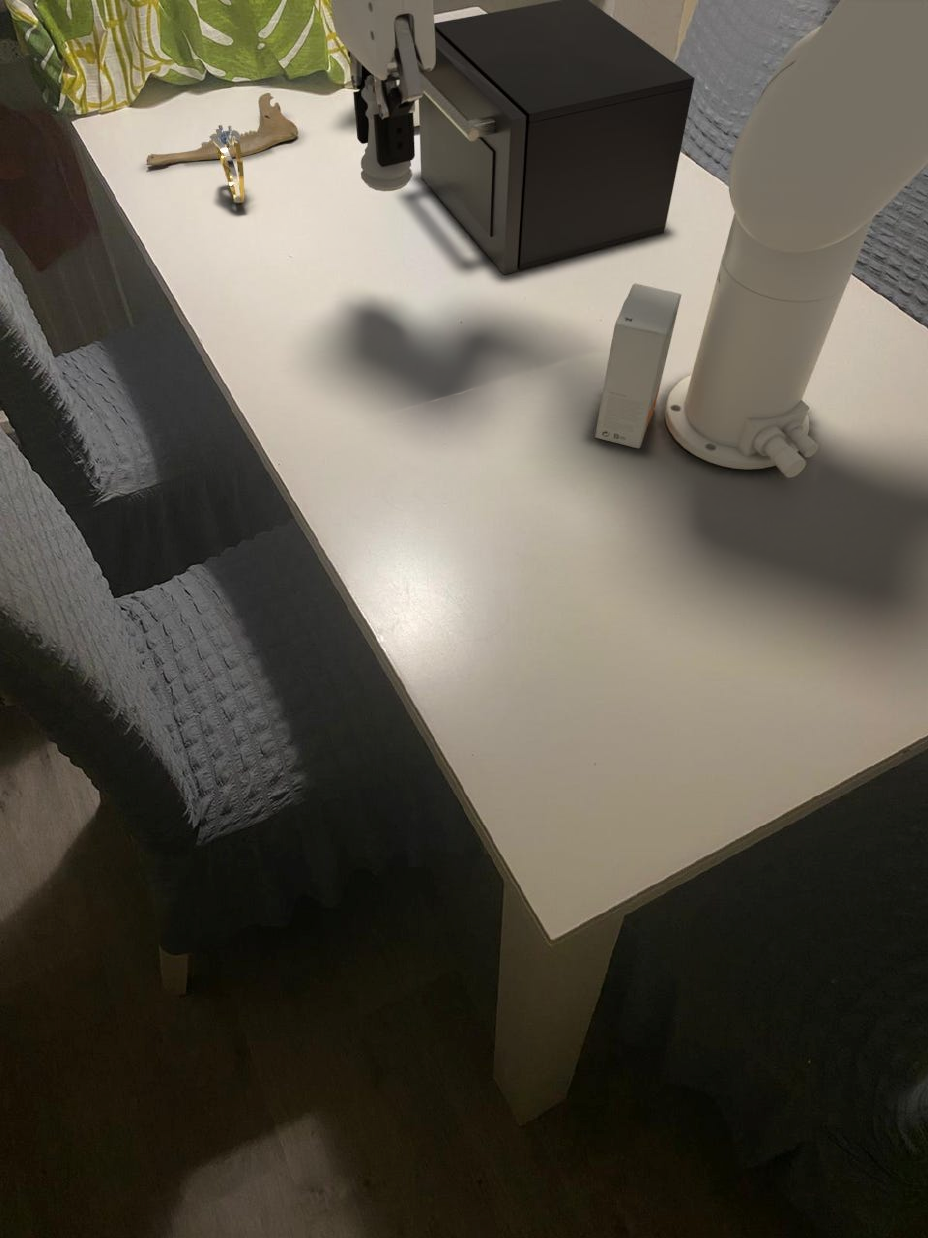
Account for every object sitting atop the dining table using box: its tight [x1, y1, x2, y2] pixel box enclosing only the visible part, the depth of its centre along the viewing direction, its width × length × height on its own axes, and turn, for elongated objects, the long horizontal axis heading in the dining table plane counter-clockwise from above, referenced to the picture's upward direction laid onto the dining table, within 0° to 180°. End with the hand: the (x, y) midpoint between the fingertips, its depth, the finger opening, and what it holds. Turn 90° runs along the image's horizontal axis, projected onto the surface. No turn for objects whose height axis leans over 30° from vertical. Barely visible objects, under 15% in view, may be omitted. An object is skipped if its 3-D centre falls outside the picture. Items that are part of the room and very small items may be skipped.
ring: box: [208, 124, 245, 204], centre depth 100 cm, size 7×3×8 cm, turn 19°
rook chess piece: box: [360, 75, 413, 192], centre depth 74 cm, size 4×4×8 cm
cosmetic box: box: [594, 283, 682, 449], centre depth 76 cm, size 6×4×12 cm
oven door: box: [418, 31, 526, 276], centre depth 94 cm, size 5×22×16 cm, turn 25°
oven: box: [434, 0, 696, 272], centre depth 97 cm, size 18×22×16 cm
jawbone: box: [145, 92, 299, 166], centre depth 109 cm, size 9×20×2 cm, turn 141°
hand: (385, 148), depth 75 cm, fingers closed on rook chess piece, 3 cm apart
